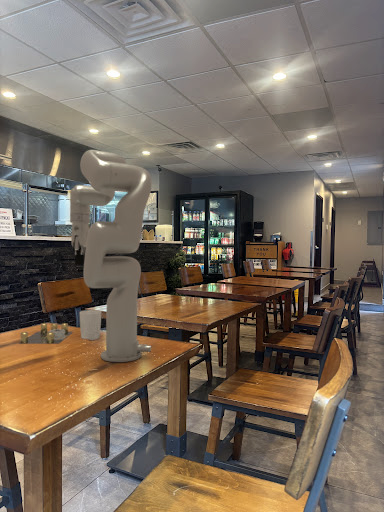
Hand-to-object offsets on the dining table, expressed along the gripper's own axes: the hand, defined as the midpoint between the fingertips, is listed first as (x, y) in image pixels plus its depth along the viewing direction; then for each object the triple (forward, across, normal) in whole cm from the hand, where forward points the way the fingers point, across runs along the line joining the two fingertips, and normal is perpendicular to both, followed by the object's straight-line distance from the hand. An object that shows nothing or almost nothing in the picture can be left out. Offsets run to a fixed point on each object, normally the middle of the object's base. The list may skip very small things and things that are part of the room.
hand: (79, 264), depth 149 cm
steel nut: (+26, -12, +5) cm, 30 cm away
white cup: (+27, -11, -7) cm, 30 cm away
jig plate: (+27, -12, +8) cm, 31 cm away
